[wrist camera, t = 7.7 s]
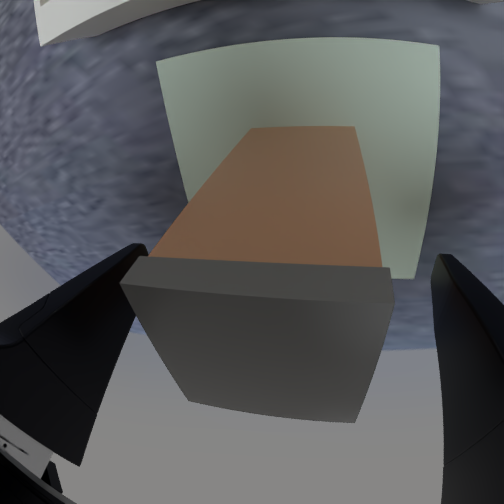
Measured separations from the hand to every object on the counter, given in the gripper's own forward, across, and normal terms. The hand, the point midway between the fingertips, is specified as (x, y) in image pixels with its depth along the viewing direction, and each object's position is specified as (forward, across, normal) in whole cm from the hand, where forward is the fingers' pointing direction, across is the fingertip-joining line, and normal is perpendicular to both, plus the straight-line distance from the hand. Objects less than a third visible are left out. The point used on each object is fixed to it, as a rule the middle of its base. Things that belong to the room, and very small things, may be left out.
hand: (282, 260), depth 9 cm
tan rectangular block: (+6, 0, 0) cm, 6 cm away
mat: (+7, 0, 0) cm, 7 cm away
